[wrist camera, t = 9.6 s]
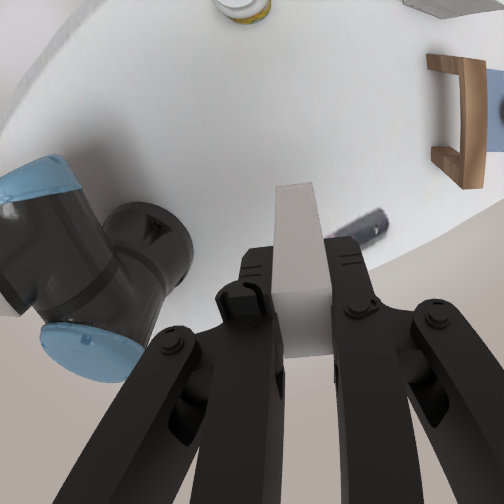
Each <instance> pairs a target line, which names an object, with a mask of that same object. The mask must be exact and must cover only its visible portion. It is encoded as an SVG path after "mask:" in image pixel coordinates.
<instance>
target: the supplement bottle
mask: <svg viewBox="0 0 504 504" xmlns="http://www.w3.org/2000/svg"><path fill="white" fill-rule="evenodd" d="M213 2H214V4H215V6H216V8H217V9H218V10H219V11H220V12H221V13H223V14H224V15H226V16H227V17H229V18H230V19H231V20H233V21H235V22H237V23H241V24H253V23H256V22H258V21H260V20H262V19H263V18H265V17H266V16H267V15H268V13H269V11H270V9H271V0H213Z"/></svg>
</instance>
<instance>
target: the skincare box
mask: <svg viewBox="0 0 504 504" xmlns="http://www.w3.org/2000/svg"><path fill="white" fill-rule="evenodd" d="M403 4H405V5H408V6H411V7H413V8H416V9H419V10H421V11H424V12H427V13H429V14H432V15H434V16H436V17H439V18H441V19H447V18H453V17H458V16H463V15H469V14H475V13H481V12H488V11H496V10H504V0H404V1H403Z"/></svg>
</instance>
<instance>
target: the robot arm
mask: <svg viewBox="0 0 504 504" xmlns="http://www.w3.org/2000/svg"><path fill="white" fill-rule="evenodd" d="M82 188H83V187H82V185H81V184H80V183H78V181H77V179H76V177H75V175H74V174H73V172H72V170H71V168H70V166H69V165H68V163H67V161H66V160H65V159H64V158H63V157H61V156H59V155H55V154H53V155H47V156H45V157H42V158H39V159H37V160H35V161H32V162H30V163H28V164H26V165H24V166H22V167H20V168H18V169H16V170H14V171H12V172H10V173H8V174H6V175H4V176H2V177H0V316H2V315H4V316H12V317H20V316H21V315H22V314H23V313H25V312H26V311H27V310H28V309H29V308H30V307H31V306H33V307H34V309H35V310H36V311H37V313H38V314H39V315H40V316H41V317H42V319H43V320H44V322H45V325H43V327H42V328H41V334H40V342H41V345H42V347H43V349H44V350H45V352H46V353H47V354H48V355H49V356H50V357H51V358H52V359H53V360H54V361H56V362H57V363H58V364H60V365H61V366H63V367H64V368H66V369H68V370H69V371H71V372H73V373H75V374H77V375H80V376H82V377H85V378H87V379H91V380H94V381H98V382H105V383H119V382H123V381H125V383H124V384H123V386H122V387H121V389H120V391H119V392H118V394H117V396H116V397H115V399H114V400H113V402H112V404H111V405H110V407H109V408H108V410H107V412H106V413H105V415H104V417H103V418H102V420H101V421H100V423H99V425H98V426H97V428H96V430H95V431H94V433H93V434H92V436H91V438H90V439H89V441H88V443H87V444H86V446H85V448H84V449H83V451H82V453H81V455H80V456H79V458H78V460H77V462H76V463H75V465H74V467H73V468H72V470H71V472H70V473H69V475H68V477H67V478H66V480H65V482H64V484H63V485H62V487H61V489H60V491H59V492H58V494H57V496H56V498H55V500H54V501H53V503H52V504H172V503H173V501H174V499H175V497H176V495H177V493H178V491H179V488H180V486H181V484H182V482H183V480H184V478H185V476H186V474H187V472H188V469H189V467H190V465H191V463H192V461H193V459H194V457H195V454H196V452H197V450H198V448H199V453H198V458H197V465H196V469H195V475H194V481H193V487H192V492H191V498H190V504H280V502H281V484H282V463H283V438H284V406H285V371H284V366H283V353H284V357H285V358H298V357H310V356H320V355H330V354H334V383H335V386H336V398H337V412H338V427H339V443H340V466H341V467H340V468H341V504H424V499H423V489H422V481H421V474H420V466H419V459H418V453H417V446H416V441H415V435H414V429H413V424H412V419H411V413H410V408H409V404H408V399H407V397H408V398H409V400H410V402H411V404H412V406H413V408H414V410H415V412H416V414H417V416H418V418H419V420H420V422H421V424H422V426H423V428H424V430H425V432H426V434H427V436H428V439H429V440H430V443H431V445H432V447H433V449H434V451H435V453H436V455H437V458H438V460H439V462H440V464H441V466H442V468H443V471H444V473H445V475H446V477H447V479H448V482H449V484H450V486H451V488H452V491H453V493H454V496H455V498H456V500H457V503H458V504H504V370H503V368H502V367H501V365H500V364H499V362H498V361H497V360H496V358H495V357H494V355H493V354H492V353H491V351H490V350H489V349H488V347H487V346H486V345H485V343H484V342H483V341H482V339H481V338H480V337H479V335H478V334H477V333H476V331H475V330H474V329H473V328H472V327H471V325H470V324H469V322H468V321H467V320H466V319H465V317H464V316H463V315H462V314H461V313H460V311H459V310H458V309H457V308H456V307H455V306H454V305H453V304H451V303H450V302H447V301H445V300H442V299H429V300H425V301H423V302H422V303H420V304H418V306H417V307H416V309H415V310H414V311H407V310H399V309H394V308H390V307H389V306H386V305H385V304H383V303H382V302H381V300H380V299H379V298H378V297H377V296H376V295H375V293H374V291H373V287H372V284H371V281H370V278H369V275H368V271H367V268H366V265H365V263H364V259H363V256H362V253H361V250H360V247H359V244H358V243H357V242H356V241H355V240H354V239H353V238H352V237H350V236H345V237H336V238H327V239H323V235H322V230H321V225H320V220H319V215H318V210H317V205H316V200H315V196H314V191H313V186H312V182H310V183H302V184H294V185H286V186H278V187H276V203H275V227H274V246H267V247H258V248H250V249H249V250H248V251H247V252H246V254H245V255H244V256H243V257H242V261H241V267H240V269H241V270H240V273H239V278H238V280H237V281H233V282H231V283H229V284H227V285H225V286H224V287H223V288H222V289H221V290H220V291H219V292H218V293H217V295H216V297H215V300H216V303H217V306H218V309H219V311H220V314H221V317H222V319H223V323H222V324H220V325H219V326H217V327H215V328H212V329H210V330H207V331H203V332H200V333H197V334H194V333H193V332H192V330H191V329H190V328H187V327H185V326H172V327H168V328H165V329H164V330H162V331H160V332H159V333H158V334H157V335H156V336H155V337H154V338H153V339H152V341H151V342H150V344H149V345H148V342H149V339H150V337H151V334H152V331H153V328H154V326H155V323H156V320H157V317H158V315H159V312H160V309H161V307H162V304H163V301H164V299H165V297H166V296H167V295H168V294H169V293H170V292H172V291H173V289H174V288H175V287H177V286H178V285H179V284H180V283H181V282H182V281H183V280H184V278H185V277H186V275H187V274H188V271H189V269H190V266H191V263H192V260H193V245H192V241H191V238H190V236H189V234H188V232H187V230H186V229H185V227H184V226H183V225H182V223H181V222H180V221H179V220H178V219H177V218H176V217H175V216H173V215H172V214H171V213H169V212H168V211H166V210H164V209H162V208H160V207H158V206H155V205H152V204H148V203H129V204H126V205H123V206H121V207H119V208H117V209H116V210H115V211H114V212H113V213H112V214H111V215H110V216H109V217H108V218H107V220H106V221H105V222H104V224H103V226H102V227H101V225H100V223H99V221H98V219H97V218H96V216H95V214H94V212H93V210H92V208H91V206H90V204H89V202H88V201H87V199H86V197H85V195H84V193H83V190H82ZM147 345H148V347H147ZM199 446H200V447H199Z"/></svg>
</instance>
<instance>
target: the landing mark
mask: <svg viewBox="0 0 504 504" xmlns="http://www.w3.org/2000/svg"><path fill="white" fill-rule="evenodd" d="M486 72H487V93H488V127H487V149H486V152H504V72H503V71H497V70H491V69H486Z"/></svg>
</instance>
